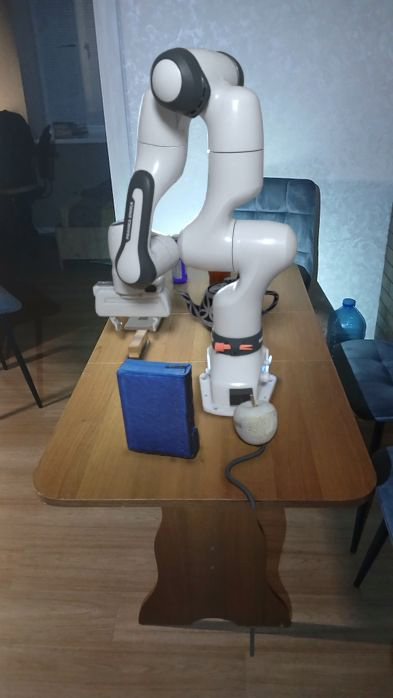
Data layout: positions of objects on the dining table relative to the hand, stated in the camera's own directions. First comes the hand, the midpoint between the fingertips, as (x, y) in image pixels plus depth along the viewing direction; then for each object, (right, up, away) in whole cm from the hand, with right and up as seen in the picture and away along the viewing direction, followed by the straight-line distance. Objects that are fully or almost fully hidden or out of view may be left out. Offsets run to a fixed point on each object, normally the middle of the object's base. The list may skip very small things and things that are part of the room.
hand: (136, 330), depth 136 cm
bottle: (+10, +20, +54) cm, 58 cm away
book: (+10, -26, -36) cm, 45 cm away
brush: (0, -6, +3) cm, 7 cm away
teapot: (+26, +2, +16) cm, 30 cm away
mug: (+26, +14, +39) cm, 49 cm away
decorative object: (+28, -24, -34) cm, 50 cm away
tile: (+1, +5, +24) cm, 25 cm away
